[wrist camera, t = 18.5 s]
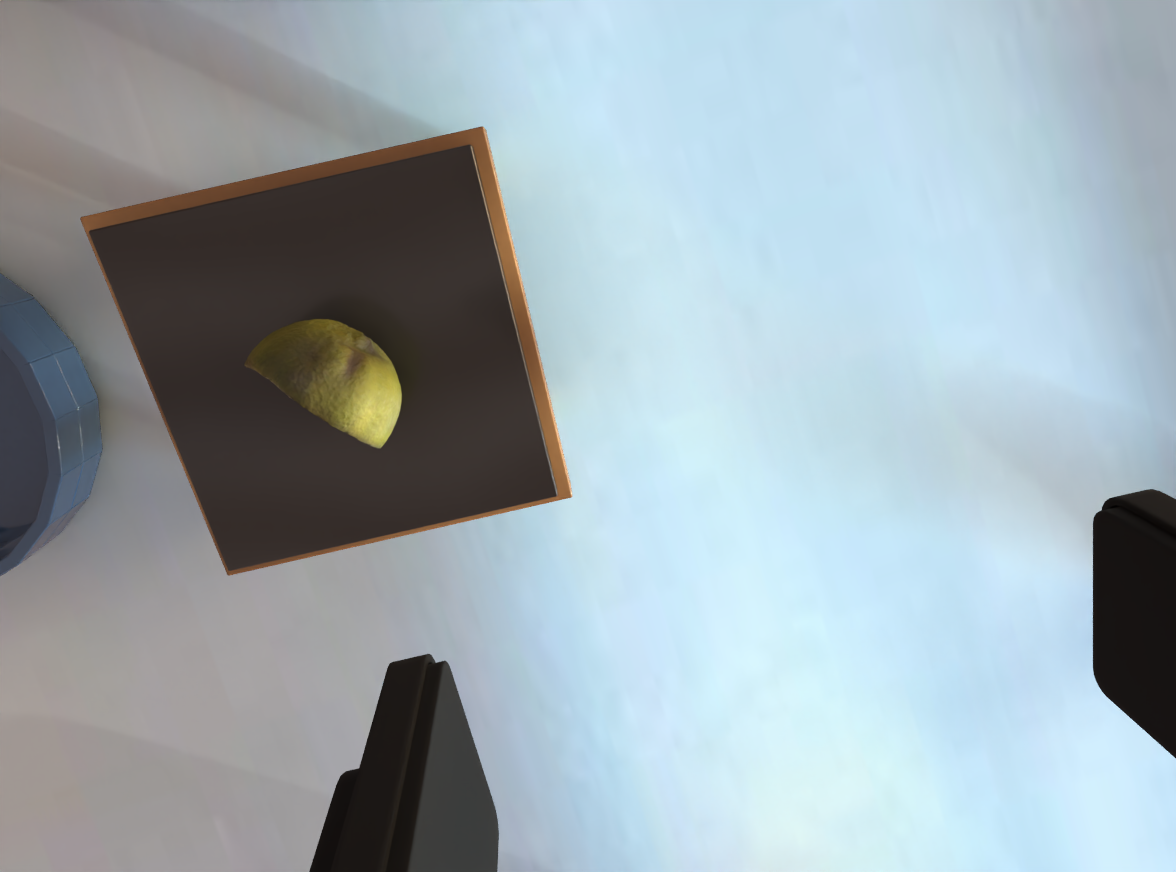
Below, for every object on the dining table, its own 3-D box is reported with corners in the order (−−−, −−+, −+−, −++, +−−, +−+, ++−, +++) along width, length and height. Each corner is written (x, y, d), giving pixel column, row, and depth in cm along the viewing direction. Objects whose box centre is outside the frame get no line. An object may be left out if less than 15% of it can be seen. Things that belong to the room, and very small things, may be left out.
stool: (188, 207, 35) (65, 218, 26) (493, 138, 35) (482, 124, 26) (292, 489, 39) (219, 586, 30) (562, 428, 39) (573, 505, 30)
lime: (412, 430, 29) (390, 479, 24) (277, 428, 28) (227, 479, 24) (408, 308, 27) (383, 336, 23) (266, 305, 27) (210, 332, 22)
